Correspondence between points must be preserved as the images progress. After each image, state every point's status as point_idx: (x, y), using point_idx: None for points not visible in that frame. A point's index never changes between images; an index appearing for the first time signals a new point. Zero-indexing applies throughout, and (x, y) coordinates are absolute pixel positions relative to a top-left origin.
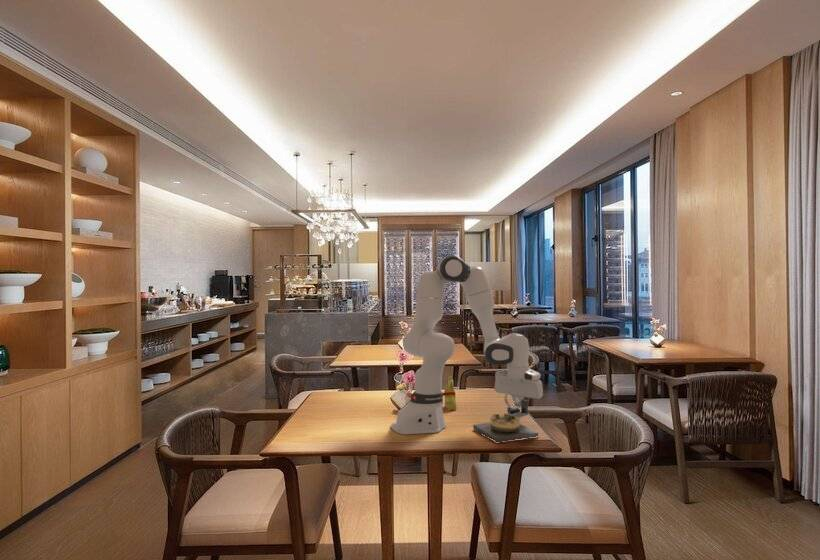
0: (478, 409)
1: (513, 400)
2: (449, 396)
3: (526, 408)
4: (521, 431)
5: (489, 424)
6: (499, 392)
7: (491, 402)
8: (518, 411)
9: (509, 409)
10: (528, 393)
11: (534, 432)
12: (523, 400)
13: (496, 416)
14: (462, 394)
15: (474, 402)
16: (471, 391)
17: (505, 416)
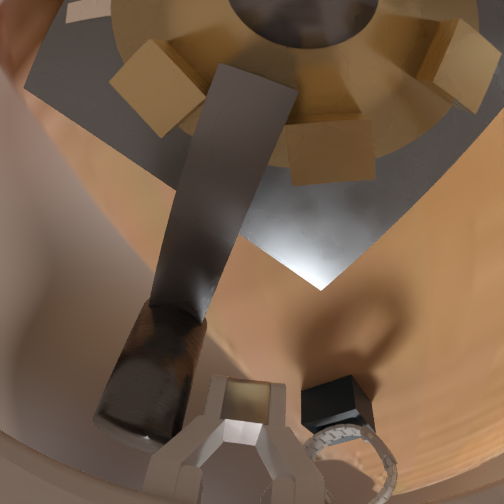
0: (490, 386)
1: (298, 441)
2: None
3: (124, 346)
4: None
5: None
6: (493, 485)
7: (430, 448)
8: (309, 415)
9: (362, 415)
10: (3, 493)
11: (39, 70)
12: (152, 443)
13: (443, 37)
14: (498, 444)
15: (485, 425)
16: (470, 464)
17: (342, 113)
